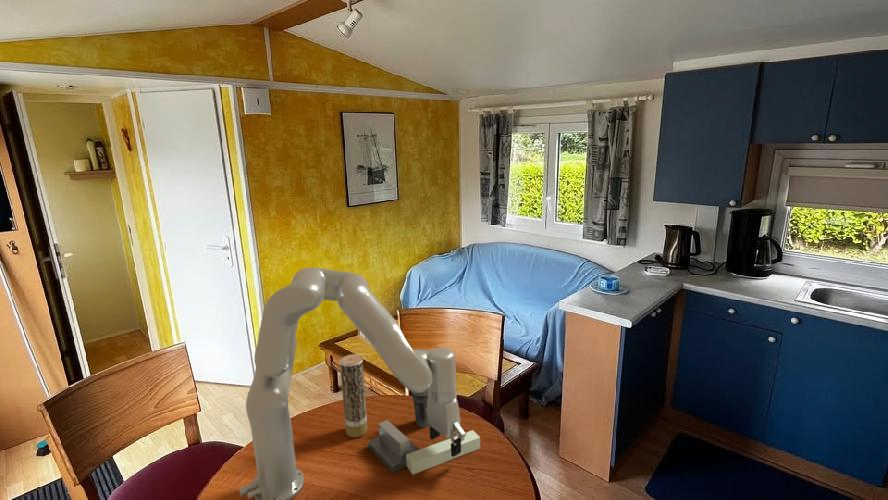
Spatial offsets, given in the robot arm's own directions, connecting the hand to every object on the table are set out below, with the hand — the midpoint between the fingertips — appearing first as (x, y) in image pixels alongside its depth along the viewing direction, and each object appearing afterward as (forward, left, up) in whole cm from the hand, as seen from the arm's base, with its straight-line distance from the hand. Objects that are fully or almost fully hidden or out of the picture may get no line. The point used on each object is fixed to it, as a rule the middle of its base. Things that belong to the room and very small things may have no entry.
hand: (445, 445), depth 126 cm
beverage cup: (+4, +17, -4) cm, 18 cm away
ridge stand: (-10, +11, -4) cm, 16 cm away
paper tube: (-14, +27, -4) cm, 31 cm away
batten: (0, 0, -4) cm, 4 cm away
